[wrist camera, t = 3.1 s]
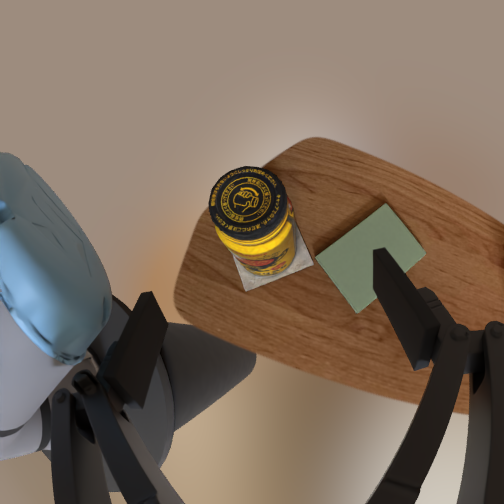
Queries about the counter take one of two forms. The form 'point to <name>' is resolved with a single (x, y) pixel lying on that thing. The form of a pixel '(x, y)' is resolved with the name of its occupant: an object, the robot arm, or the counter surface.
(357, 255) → the trivet mat
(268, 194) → the condiment
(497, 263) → the counter surface
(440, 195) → the counter surface
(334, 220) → the counter surface
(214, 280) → the counter surface
